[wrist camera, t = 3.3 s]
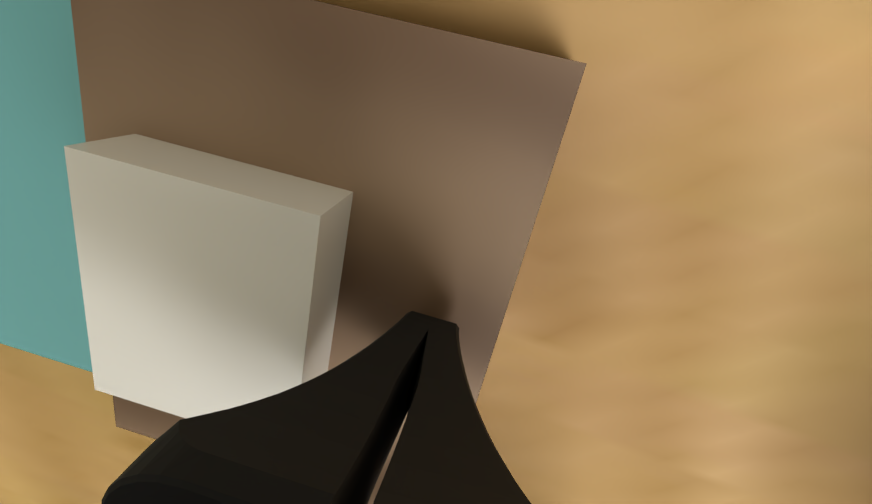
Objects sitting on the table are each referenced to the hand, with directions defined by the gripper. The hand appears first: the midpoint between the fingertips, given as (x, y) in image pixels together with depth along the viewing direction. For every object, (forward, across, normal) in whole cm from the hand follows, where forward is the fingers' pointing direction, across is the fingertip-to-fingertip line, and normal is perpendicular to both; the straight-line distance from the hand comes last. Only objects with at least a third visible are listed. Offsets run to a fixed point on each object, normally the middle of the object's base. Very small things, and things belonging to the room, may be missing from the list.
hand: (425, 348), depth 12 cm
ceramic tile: (+1, +6, 0) cm, 6 cm away
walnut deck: (+3, +4, 0) cm, 5 cm away
